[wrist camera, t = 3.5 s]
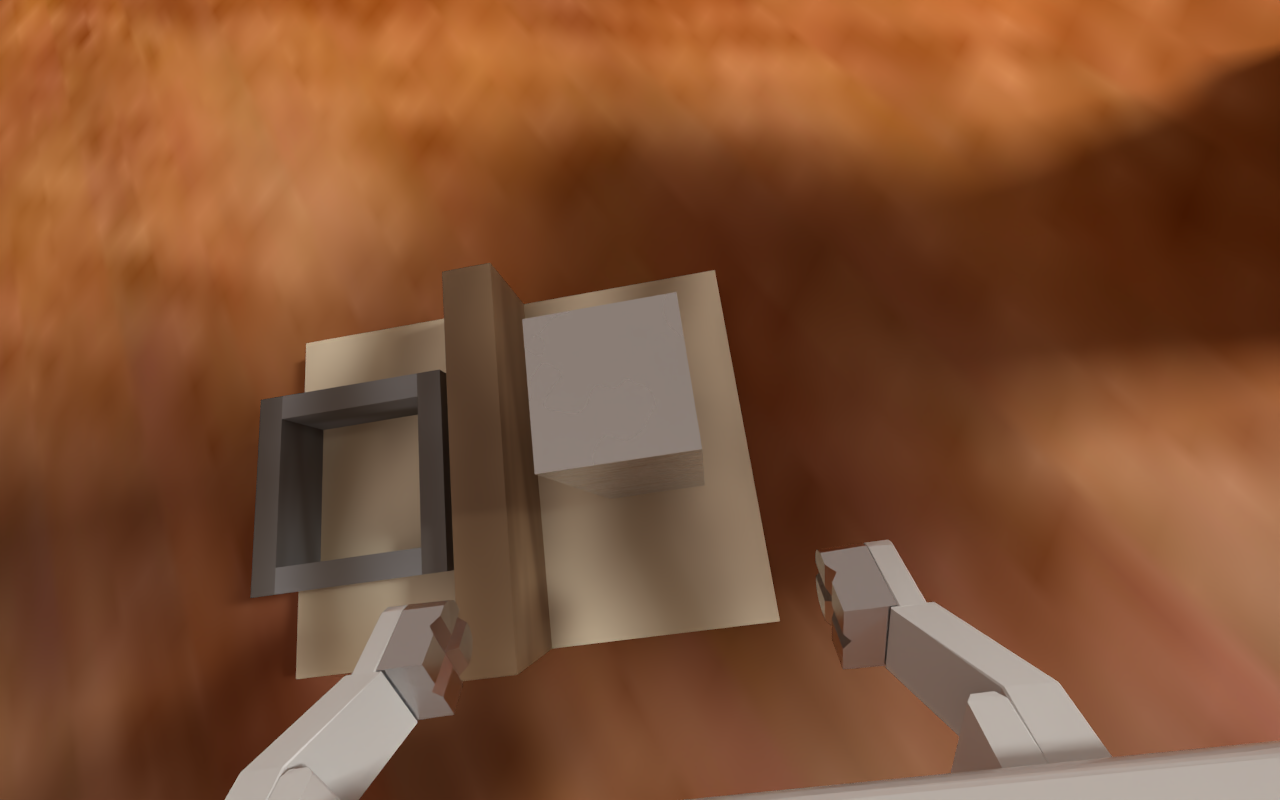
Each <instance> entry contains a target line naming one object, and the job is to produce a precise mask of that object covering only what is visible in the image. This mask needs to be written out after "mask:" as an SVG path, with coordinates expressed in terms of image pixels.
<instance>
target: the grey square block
mask: <svg viewBox="0 0 1280 800" xmlns="http://www.w3.org/2000/svg"><path fill="white" fill-rule="evenodd" d="M522 323H523V335H524V348H525V360H526V373H527V385H528V397H529V410H530V422H531V434H532V447H533V459H534V471H535V474H536V475H539V476H542V477H545V478H548V479H551V480H554V481H557V482H560V483H563V484H566V485H569V486H572V487H575V488H578V489H581V490H584V491H587V492H591V493H594V494H597V495H600V496H603V497H606V498H609V499H612V498H619V497H626V496H633V495H640V494H647V493H654V492H661V491H668V490H675V489H682V488H689V487H696V486H702V485H705V481H704V467H703V453H702V445H701V439H700V433H699V426H698V420H697V414H696V408H695V402H694V396H693V390H692V384H691V377H690V371H689V365H688V359H687V353H686V347H685V341H684V335H683V329H682V322H681V316H680V310H679V304H678V298H677V292H673V293H668V294H662V295H656V296H651V297H645V298H639V299H634V300H628V301H622V302H617V303H611V304H605V305H600V306H594V307H588V308H583V309H577V310H572V311H566V312H560V313H555V314H549V315H543V316H538V317H532V318H526V319H522Z"/></svg>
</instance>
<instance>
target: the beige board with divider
mask: <svg viewBox="0 0 1280 800" xmlns="http://www.w3.org/2000/svg"><path fill="white" fill-rule="evenodd" d="M442 281H443V306H444V319H439V320H434V321H428V322H423V323H417V324H411V325H406V326H400V327H395V328H389V329H384V330H378V331H372V332H367V333H361V334H356V335H350V336H345V337H339V338H333V339H328V340H322V341H317V342H311V343H306V368H305V393H299V394H293V395H287V396H281V397H275V398H270V399H264V400H261V409H260V428H259V447H258V466H257V485H256V504H255V523H254V542H253V561H252V579H251V598H254V597H262V596H269V595H276V594H284V593H291V592H298V591H299V593H298V626H297V658H296V679H303V678H311V677H319V676H328V675H336V674H344V673H353V671H354V669H355V666H356V664H357V662H358V660H359V658H360V656H361V654H362V652H363V650H364V648H365V646H366V644H367V642H368V640H369V638H370V636H371V634H372V632H373V629H374V627H375V625H376V623H377V621H378V619H379V617H380V615H381V613H382V612H383V611H384V610H385V609H386V608H387V607H393V606H402V605H409V604H418V603H427V602H436V601H446V600H454V601H455V602H456V604H457V606H458V607H459V609H460V611H459V614H458V618H460V619H462V620H464V621H465V622H467V624H468V626H469V628H470V630H471V634H472V638H473V642H472V655H471V659H470V663H469V666H468V667H467V668H466V669H465V670H464V671H463V672H462V673H461V674H460V678H461V681H469V680H477V679H486V678H494V677H503V676H512V675H518V674H519V673H520V672H522V671H523V670H524V669H526V668H527V667H528V666H530V665H531V664H532V663H534V662H535V661H536V660H538V659H539V658H540V657H542V656H543V655H544V654H546V653H547V652H548V651H550V650H551V649H553V648H561V647H569V646H578V645H586V644H594V643H603V642H611V641H619V640H628V639H636V638H644V637H653V636H661V635H669V634H678V633H686V632H694V631H703V630H711V629H719V628H728V627H736V626H744V625H753V624H761V623H769V622H778V621H780V619H779V613H778V608H777V602H776V597H775V592H774V586H773V581H772V575H771V570H770V565H769V559H768V554H767V549H766V543H765V538H764V532H763V527H762V522H761V516H760V511H759V505H758V500H757V495H756V489H755V484H754V479H753V473H752V468H751V462H750V457H749V452H748V446H747V441H746V435H745V430H744V425H743V419H742V414H741V409H740V403H739V398H738V392H737V387H736V382H735V376H734V371H733V366H732V360H731V355H730V349H729V344H728V339H727V333H726V328H725V322H724V317H723V312H722V306H721V301H720V296H719V290H718V285H717V279H716V274H715V270H712V271H707V272H701V273H696V274H690V275H684V276H679V277H673V278H668V279H662V280H657V281H651V282H645V283H640V284H634V285H629V286H623V287H618V288H612V289H606V290H601V291H595V292H590V293H584V294H579V295H573V296H567V297H562V298H556V299H551V300H545V301H540V302H534V303H528V304H523V303H522V301H521V300H520V299H519V298H518V297H517V295H516V294H515V293H514V292H513V290H512V289H511V288H510V287H509V285H508V284H507V283H506V282H505V281H504V279H503V278H502V277H501V276H500V274H499V273H498V272H497V271H496V270H495V268H494V267H493V266H492V265H491V263H486V264H481V265H476V266H470V267H465V268H460V269H454V270H449V271H444V272H442ZM673 292H677V298H678V304H679V310H680V316H681V322H682V329H683V335H684V341H685V347H686V353H687V359H688V365H689V371H690V377H691V384H692V390H693V396H694V402H695V408H696V414H697V420H698V426H699V433H700V439H701V445H702V453H703V467H704V481H705V485H702V486H696V487H689V488H682V489H675V490H668V491H661V492H654V493H647V494H640V495H633V496H626V497H619V498H612V499H609V498H606V497H603V496H600V495H597V494H594V493H591V492H587V491H584V490H581V489H578V488H575V487H572V486H569V485H566V484H563V483H560V482H557V481H554V480H551V479H548V478H545V477H542V476H539V475H536V474H535V471H534V459H533V447H532V434H531V422H530V410H529V397H528V385H527V373H526V360H525V348H524V335H523V323H522V319H526V318H532V317H538V316H543V315H549V314H555V313H560V312H566V311H572V310H577V309H583V308H588V307H594V306H600V305H605V304H611V303H617V302H622V301H628V300H634V299H639V298H645V297H651V296H656V295H662V294H668V293H673Z"/></svg>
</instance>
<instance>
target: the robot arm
mask: <svg viewBox="0 0 1280 800" xmlns="http://www.w3.org/2000/svg"><path fill="white" fill-rule="evenodd" d="M815 562H816V565H817V567H818V570H819V573H818V574H817V575H816V588H817V593H818V599H819V603H820V607H821V610H822V613H823V616H824V619H825V621H826V622H827V623H829V624H830V625H831V626H832V641H833V644H834V646H835V649H836V652H837V655H838V657H839V660H840V663H841V665H842V668H843V669H851V668H863V667H874V666H885V665H886V669H888V670H889V671H890V672H891V673H892V674H893V675H894V676H895V677H896V678H897V679H898V680H899V681H900V682H902V683H903V684H904V685H905V686H906V687H907V688H908V689H909V690H910V691H911V692H912V693H913V694H914V695H915V696H917V697H918V698H919V699H920V700H921V701H922V702H923V703H924V704H925V705H926V706H927V707H928V708H929V709H931V710H932V711H933V712H934V713H935V714H936V715H937V716H938V717H939V718H940V719H941V720H942V721H943V722H944V723H946V724H947V725H948V726H949V727H950V728H951V729H952V730H953V731H954V732H955V733H956V734H957V735H958V736H959V740H958V745H957V749H956V753H955V757H954V761H953V766H952V770H951V773H948V774H938V775H928V776H918V777H908V778H898V779H888V780H878V781H868V782H858V783H848V784H838V785H828V786H817V787H807V788H797V789H787V790H777V791H767V792H756V793H746V794H736V795H726V796H716V797H705V798H695V799H685V800H1280V741H1270V742H1260V743H1250V744H1240V745H1230V746H1219V747H1209V748H1199V749H1189V750H1179V751H1169V752H1159V753H1149V754H1139V755H1129V756H1119V757H1112V756H1111V755H1110V753H1109V752H1108V750H1107V749H1106V748H1105V746H1104V745H1103V743H1102V742H1101V741H1100V739H1099V738H1098V736H1097V735H1096V734H1095V732H1094V731H1093V729H1092V728H1091V727H1090V725H1089V724H1088V722H1087V721H1086V720H1085V718H1084V717H1083V715H1082V714H1081V713H1080V711H1079V710H1078V708H1077V707H1076V706H1075V704H1074V703H1073V701H1072V700H1071V699H1070V697H1069V696H1068V694H1067V693H1066V692H1065V690H1064V689H1063V687H1062V686H1061V685H1060V683H1059V682H1057V681H1056V680H1054V679H1053V678H1051V677H1050V676H1048V675H1047V674H1045V673H1043V672H1042V671H1040V670H1039V669H1037V668H1036V667H1034V666H1033V665H1031V664H1030V663H1028V662H1026V661H1025V660H1023V659H1022V658H1020V657H1019V656H1017V655H1016V654H1014V653H1013V652H1011V651H1009V650H1008V649H1006V648H1005V647H1003V646H1002V645H1000V644H999V643H997V642H996V641H994V640H992V639H991V638H989V637H988V636H986V635H985V634H983V633H982V632H980V631H979V630H977V629H975V628H974V627H972V626H971V625H969V624H968V623H966V622H965V621H963V620H962V619H960V618H958V617H957V616H955V615H954V614H952V613H951V612H949V611H948V610H946V609H945V608H943V607H941V606H940V605H938V604H937V603H935V602H928V603H927V602H926V600H925V599H924V597H923V595H922V593H921V592H920V590H919V588H918V587H917V585H916V583H915V581H914V580H913V578H912V576H911V574H910V573H909V571H908V569H907V567H906V566H905V564H904V562H903V561H902V559H901V557H900V555H899V554H898V552H897V550H896V548H895V547H894V545H893V543H892V542H891V541H889V540H880V541H873V542H866V543H857V544H850V545H843V546H837V547H830V548H823V549H817V550H816V553H815ZM459 611H460V609H459V607H458V606H457V604H456V602H455V601H454V600H446V601H436V602H427V603H418V604H409V605H402V606H393V607H387V608H386V609H385V610H384V611H383V612H382V613H381V615H380V617H379V619H378V621H377V623H376V625H375V627H374V629H373V632H372V634H371V636H370V638H369V640H368V642H367V644H366V646H365V648H364V650H363V652H362V654H361V656H360V658H359V660H358V662H357V664H356V666H355V669H354V671H353V673H352V675H347V676H344V677H343V678H342V679H341V680H340V681H339V682H338V683H337V684H336V685H335V686H334V687H332V688H331V689H330V690H329V691H328V692H327V693H326V694H325V695H324V696H323V697H322V698H321V699H319V700H318V701H317V702H316V703H315V704H314V705H313V706H312V707H311V708H310V709H309V710H308V711H306V712H305V713H304V714H303V715H302V716H301V717H300V718H299V719H298V720H297V721H296V722H295V723H293V724H292V725H291V726H290V727H289V728H288V729H287V730H286V731H285V732H284V733H283V734H282V735H280V736H279V737H278V738H277V739H276V740H275V741H274V742H273V743H272V744H271V745H270V746H269V747H267V748H266V749H265V750H264V751H263V752H262V753H261V754H260V755H259V756H258V757H257V758H256V759H254V760H253V761H252V762H251V763H250V764H249V765H248V766H247V767H246V768H245V769H244V770H243V771H241V772H240V774H239V776H238V777H237V779H236V781H235V783H234V784H233V786H232V788H231V790H230V791H229V793H228V795H227V796H226V798H225V800H359V799H360V797H361V796H362V795H363V793H364V792H365V791H366V790H367V788H368V787H369V786H370V784H371V783H372V782H373V780H374V779H375V778H376V776H377V775H378V774H379V772H380V771H381V770H382V769H383V767H384V766H385V765H386V763H387V762H388V761H389V759H390V758H391V757H392V755H393V754H394V753H395V752H396V750H397V749H398V748H399V746H400V745H401V744H402V742H403V741H404V740H405V738H406V737H407V736H408V734H409V733H410V732H411V731H412V729H413V728H414V727H415V725H416V724H417V720H421V719H428V718H435V717H442V716H448V715H455V711H456V708H457V704H458V701H459V698H460V694H461V691H462V687H463V683H462V681H461V678H460V674H461V673H462V672H463V671H464V670H465V669H466V668H467V667H468V666H469V663H470V659H471V655H472V642H473V638H472V634H471V630H470V628H469V626H468V624H467V622H465V621H464V620H462V619H460V618H458V614H459Z"/></svg>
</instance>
